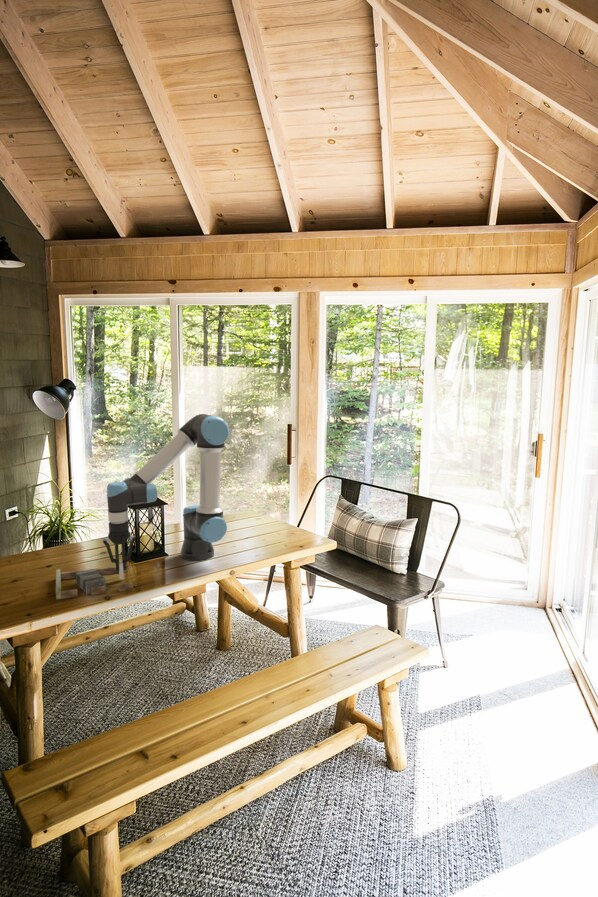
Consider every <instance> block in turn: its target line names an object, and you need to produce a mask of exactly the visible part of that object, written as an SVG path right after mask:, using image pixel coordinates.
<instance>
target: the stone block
mask: <svg viewBox="0 0 598 897" xmlns="http://www.w3.org/2000/svg"><path fill="white" fill-rule="evenodd" d="M75 580H76V581H75V582H76V586H78V587H79V588H80V589H81V590H82V591H83V592H84V593H85V595H86V594H87V595H92V594H91V587H98V586H105V592H106V591H107V590H108V587H107V581H106V577H105V576H104V575H101V574H99V572H97V571H96V570H89V571H84V572H78V573H76V578H75Z"/></svg>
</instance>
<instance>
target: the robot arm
mask: <svg viewBox="0 0 598 897" xmlns="http://www.w3.org/2000/svg"><path fill="white" fill-rule="evenodd" d="M229 435H230V428H229V424H228V423H227V422H226V421H225V420H224V419H223V418H221V417H220V416H216V415H209V414H205V413H201V414H196V415H194V416H192V417H191V418H190V419H189V420H188V421H187V422H186V423H184V424H183V425H182V426H181V427H180V428H179V429H178V430H177V434H176V435H175V436H174V437H173V438H172V439H171V440H170V441H168V442H167V444H166V445H164V446H163V447H162V448H161V449H160V450H159V451H158V452H157V453H156V454H154V455H153V456H152V457H151V458H150V459H149V460H148V461H147V462H146V463H145V464H144V465H143V466H142V467H140V469H139V470H138V471H137V472H135V473H134V474H133V475H132V476H131V477H128V478H127V477H126V478H125V479H124V480H122V481H113V482H111V483H110V482H109V483H108V484H107V486H106V497H107V498H106V499H107V500H106V501H107V514H108V515H107V516H108V534H107V537H106V538H103V539H102V543H103V544H104V546H105V548H106V550H107V553H108V556H109V558H110V562H111V563H113V564H115V566H116V570H117V571H119V573H118V574H119V576H118V577H119V580H125V579H124V578H125V576H124V574H125V573H124V572H123V570H126V565H127V562H129V561H131V557H132V552H133V548H134V545H135V544H134V543H135V541H137V538H136V535H132V534H131V532H130V529H129V528H130V527H129V521H128V520H129V508H128V506H133V505H141V504H150V503H154V502H156V501H157V500H158V499H157V498H158V489H157V488H158V487H157V486H156V485H155V484H154V483H153V482H154V481H155V480H156V479H157V478H158V477H159V476H160V475H161V474H162V473H164V471H165V470H167V469H168V468H169V467H170V466H171V465H172V464H173V463H174V462H175V461H176V460H177V459H179V458H180V456H182V454H183V453H185V452H186V451H187V449H189V448H191V447H194V446H196V448H197V449H198V450H199V453H200V456H199V457H200V458H199V462H200V463H199V471H200V472H199V504H196V505H193V504H192V505H187V506H185V507H184V508H183V512H182V516H183V517H182V520H183V542H182V546H181V548H180V558H181V557H182V558H181V559H183V558H184V559H183V560H186V559H188V560H187V561H205V560H208V559H211V558H213V557H214V556H215V548H214V545H213V543H217V542H219V541H221V540H222V539H223V538H224V537H225V535H226V534H227V531H228V525H227V522H226V520H225V519H224V509H223V508H222V507H221V505H220V504H221V503H220V502H221V496H220V495H221V459H222V458H221V454H222V453H221V452H222V451H223V450H224V449H225V442H226V441H227V440H228V438H229ZM110 541H111V543H112V544H114V555H113V552H112V549H111V545H110ZM127 541H129V544H128V550H127V554H126V543H127ZM119 545H120V546H121V560H122V561H120V554H119V552H120V551H119ZM114 556H115V557H114Z"/></svg>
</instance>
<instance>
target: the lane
mask: <svg viewBox="0 0 598 897" xmlns="http://www.w3.org/2000/svg"><path fill="white" fill-rule="evenodd" d="M89 570H96V571H97V572H99V574H101V575H102V576H104V575H111V574H112V575H113V574H119V571H117V570H116V565H115V566H106V567H97V568H89V569H79V570H72V571H64V572H63V571H62V572H61V569H60V568H58V569H56V570H55V599H56V600H64V599H70V598H71V599H72V598H78V597H79V596H78V589H67V590H62V589H61V588H62V584H61V583H62V580H71V579H76V573H78V572H84V571H89ZM123 573H128V565H127V564H126V570H123ZM117 586H118V591H119V592H125V591H132V590H133V582H132V581H130V582H122V583H118V585H117ZM91 593H92V594H91V595H92V596H94V595H101V594H106V591H105V586H98V587H91Z"/></svg>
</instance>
